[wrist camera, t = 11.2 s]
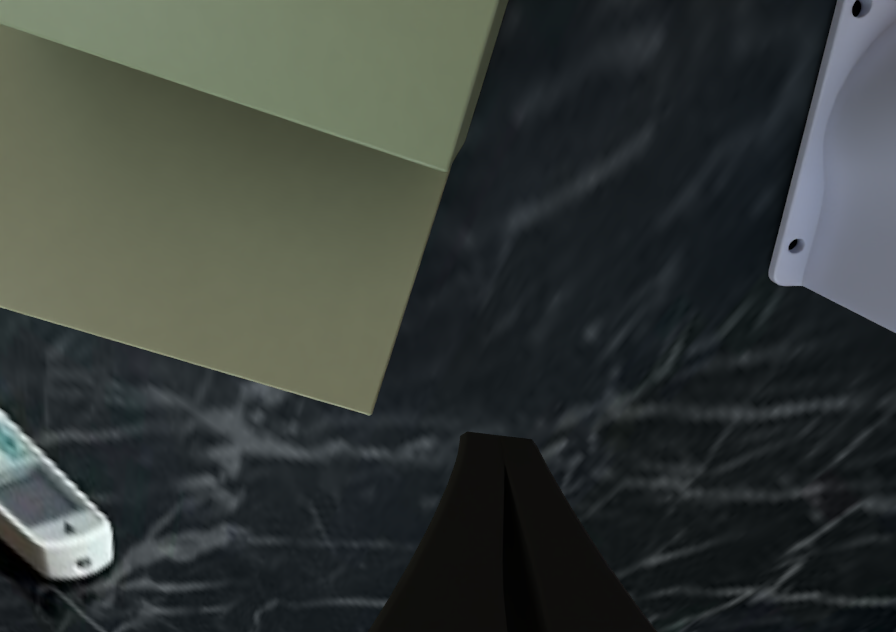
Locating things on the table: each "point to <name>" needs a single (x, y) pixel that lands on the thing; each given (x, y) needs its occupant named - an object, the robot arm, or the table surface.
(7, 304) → the oven door
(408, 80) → the oven
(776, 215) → the table surface
